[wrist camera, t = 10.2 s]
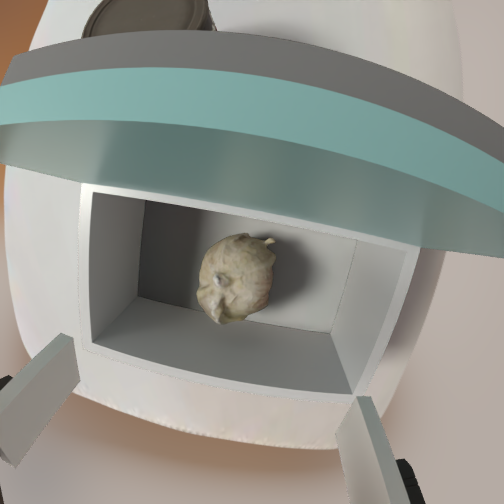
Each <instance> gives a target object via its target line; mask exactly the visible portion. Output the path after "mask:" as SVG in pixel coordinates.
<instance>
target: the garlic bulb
mask: <svg viewBox="0 0 504 504" xmlns="http://www.w3.org/2000/svg"><path fill="white" fill-rule="evenodd" d="M275 242H276V240H275V239H273V238H269V239H267V240H265V241H263V240H259V239H256V238H253V237H250V236H249V234H248V233H242V234H236V235H232V236H229V237H226V238H225V239H223V240H221V241H219V242H217V243H216V244H214V245H213V246H212V247H211V248H210V249H209V250H208V251H207V252H206V254H205V256H204V258H203V260H202V265H201V269H200V271H199V282H200V286H199V288H198V290H197V293H196V294H197V299H198V303H199V304H200V306H201V307H202V308H203V310H204V311H205V313H206V314H207V315H208V316H209V317H210V318H212V319H213V320H214V321H215V322H216V323H217V324H219V325H224V324H227V323H230V322H234V321H242V320H244V319H245V318H246V317H247V316H248V315H250V314H252V313H255V312H258V311H260V310H262V309H263V308H265V307H266V306H267V305H268V301H269V296H268V294H269V290H270V289H271V287H272V282H273V271H272V265H273V263H274V262H275V260H276V256H275V254H274V253H273V252H271V251H270V250H268V249H267V245H268V244H271V243H275Z"/></svg>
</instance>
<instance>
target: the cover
mask: <svg viewBox="0 0 504 504" xmlns="http://www.w3.org/2000/svg"><path fill="white" fill-rule="evenodd" d="M0 163H1V164H5V165H10V166H14V167H18V168H22V169H27V170H31V171H35V172H39V173H43V174H47V175H51V176H55V177H60V178H64V179H68V180H72V181H76V182H80V183H86V184H94V185H102V186H109V187H117V188H124V189H131V190H138V191H145V192H151V193H158V194H164V195H170V196H177V197H183V198H189V199H195V200H201V201H207V202H212V203H218V204H224V205H229V206H235V207H240V208H245V209H251V210H256V211H261V212H266V213H271V214H276V215H281V216H286V217H291V218H296V219H301V220H306V221H310V222H315V223H320V224H324V225H329V226H334V227H338V228H343V229H347V230H351V231H356V232H360V233H364V234H369V235H373V236H377V237H381V238H385V239H390V240H394V241H398V242H402V243H406V244H410V245H414V246H418V247H421V248H429V249H437V250H445V251H453V252H460V253H468V254H476V255H483V256H490V257H497V258H504V128H503V127H502V126H500V125H499V124H498V123H496V122H495V121H493V120H491V119H490V118H488V117H487V116H485V115H483V114H482V113H480V112H479V111H477V110H475V109H473V108H472V107H470V106H468V105H466V104H465V103H463V102H461V101H459V100H457V99H456V98H454V97H452V96H450V95H448V94H446V93H444V92H442V91H440V90H438V89H436V88H434V87H432V86H430V85H427V84H425V83H423V82H421V81H419V80H416V79H414V78H412V77H409V76H407V75H405V74H402V73H400V72H397V71H395V70H392V69H389V68H387V67H384V66H381V65H378V64H376V63H373V62H370V61H367V60H364V59H361V58H358V57H354V56H351V55H348V54H344V53H341V52H337V51H333V50H330V49H326V48H322V47H318V46H313V45H309V44H305V43H300V42H295V41H290V40H284V39H279V38H273V37H266V36H259V35H251V34H243V33H233V32H220V31H202V30H157V31H139V32H127V33H117V34H109V35H101V36H95V37H89V38H83V39H77V40H72V41H67V42H63V43H58V44H54V45H50V46H46V47H42V48H39V49H35V50H31V51H28V52H25V53H22V54H18V55H15V56H14V57H13V59H12V61H11V63H10V65H9V67H8V70H7V72H6V74H5V77H4V79H3V81H2V84H1V86H0Z"/></svg>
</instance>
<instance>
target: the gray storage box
mask: <svg viewBox="0 0 504 504" xmlns="http://www.w3.org/2000/svg"><path fill="white" fill-rule="evenodd" d="M146 200H151V201H157V202H163V203H169V204H175V205H181V206H187V207H193V208H198V209H204V210H210V211H215V212H221V213H226V214H232V215H237V216H243V217H248V218H253V219H258V220H263V221H269V222H274V223H279V224H284V225H289V226H294V227H299V228H303V229H308V230H313V231H318V232H322V233H327V234H332V235H336V236H341V237H346V238H350V239H355V240H358V241H357V245H356V249H355V253H354V256H353V260H352V264H351V268H350V271H349V275H348V278H347V282H346V285H345V289H344V292H343V295H342V299H341V302H340V305H339V308H338V311H337V315H336V318H335V321H334V324H333V327H332V330H331V333H330V334H326V333H319V332H312V331H305V330H299V329H292V328H286V327H280V326H274V325H268V324H263V323H257V322H252V321H246V320H242V321H234V322H230V323H227V324H224V325H219V324H217V323H216V322H215V321H214V320H213V319H212V318H210V317H209V316H208V315H207V314H206V313H205V312H201V311H197V310H192V309H188V308H183V307H179V306H175V305H170V304H166V303H162V302H158V301H154V300H149V299H145V298H142V297H138V277H139V262H140V249H141V238H142V228H143V219H144V210H145V202H146ZM420 249H421V247H418V246H414V245H410V244H406V243H402V242H398V241H394V240H390V239H385V238H381V237H377V236H373V235H369V234H364V233H360V232H356V231H351V230H347V229H343V228H338V227H334V226H329V225H324V224H320V223H315V222H310V221H306V220H301V219H296V218H291V217H286V216H281V215H276V214H271V213H266V212H261V211H256V210H251V209H245V208H240V207H235V206H229V205H224V204H218V203H212V202H207V201H201V200H195V199H189V198H183V197H177V196H170V195H164V194H158V193H151V192H145V191H138V190H131V189H124V188H117V187H109V186H102V185H94V184H86V183H82V189H81V199H80V211H79V228H78V297H79V313H80V326H81V336H82V345H83V349H84V350H87V351H89V352H92V353H95V354H98V355H100V356H103V357H106V358H109V359H112V360H115V361H118V362H121V363H124V364H127V365H130V366H134V367H137V368H140V369H144V370H147V371H151V372H154V373H158V374H161V375H165V376H169V377H173V378H177V379H181V380H185V381H189V382H193V383H198V384H202V385H207V386H212V387H216V388H221V389H227V390H232V391H238V392H243V393H249V394H256V395H262V396H269V397H277V398H285V399H294V400H303V401H314V402H327V403H344V404H352V403H353V401H354V399H355V397H356V396H364V394H365V392H366V390H367V388H368V386H369V384H370V382H371V380H372V378H373V376H374V374H375V371H376V369H377V367H378V365H379V363H380V361H381V358H382V356H383V354H384V351H385V349H386V347H387V344H388V342H389V340H390V337H391V335H392V332H393V330H394V327H395V325H396V322H397V319H398V317H399V314H400V311H401V309H402V306H403V303H404V300H405V297H406V294H407V291H408V289H409V285H410V282H411V279H412V276H413V273H414V270H415V266H416V263H417V260H418V256H419V252H420Z"/></svg>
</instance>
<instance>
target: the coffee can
mask: <svg viewBox="0 0 504 504" xmlns="http://www.w3.org/2000/svg"><path fill="white" fill-rule="evenodd" d="M157 30H202V31H217V29H216V26H215V24H214V21H213V18H212V16H211V12H210V10H209V7H208V1H207V0H103V1H102V2H101V3H100V4H99V5H98V6H97V7H96V8H95V10H94V11H93V13H92V14H91V15H90V17H89V19H88V21H87V23H86V25H85V27H84V30H83V33H82V37H81V39H83V38H89V37H95V36H101V35H109V34H117V33H127V32H139V31H157Z"/></svg>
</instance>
